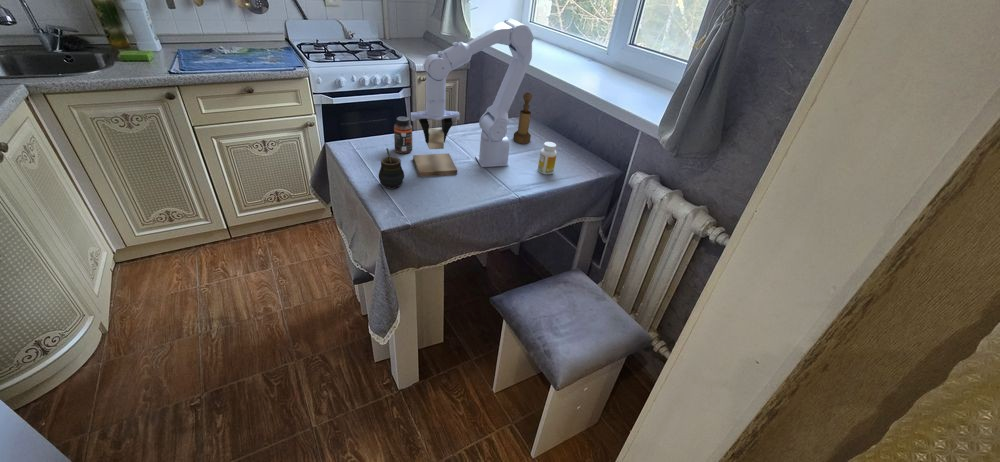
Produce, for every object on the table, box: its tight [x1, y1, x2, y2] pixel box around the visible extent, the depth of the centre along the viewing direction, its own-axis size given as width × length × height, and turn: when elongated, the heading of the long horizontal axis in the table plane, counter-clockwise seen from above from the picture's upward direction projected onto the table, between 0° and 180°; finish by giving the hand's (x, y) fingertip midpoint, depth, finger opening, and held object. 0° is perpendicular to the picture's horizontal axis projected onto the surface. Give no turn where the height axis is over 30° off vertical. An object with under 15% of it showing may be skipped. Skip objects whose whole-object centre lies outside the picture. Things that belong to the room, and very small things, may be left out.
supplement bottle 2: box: [537, 141, 558, 175], centre depth 142 cm, size 5×5×10 cm
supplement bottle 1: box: [393, 116, 413, 155], centre depth 144 cm, size 6×6×11 cm
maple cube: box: [426, 127, 445, 150], centre depth 134 cm, size 4×4×5 cm
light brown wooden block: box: [412, 153, 458, 177], centre depth 139 cm, size 12×12×2 cm
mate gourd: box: [378, 148, 405, 189], centre depth 125 cm, size 7×8×10 cm
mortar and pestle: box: [512, 92, 533, 145], centre depth 159 cm, size 7×6×18 cm
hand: (435, 141), depth 135 cm, fingers closed on maple cube, 4 cm apart
